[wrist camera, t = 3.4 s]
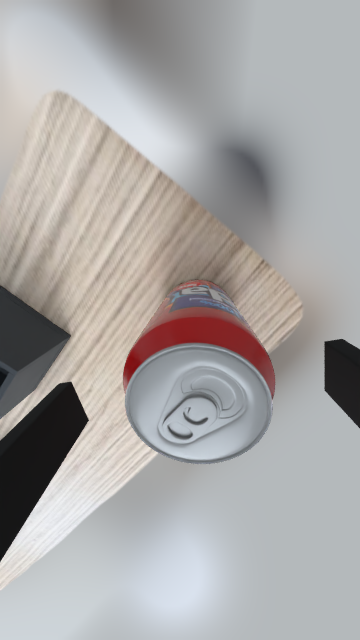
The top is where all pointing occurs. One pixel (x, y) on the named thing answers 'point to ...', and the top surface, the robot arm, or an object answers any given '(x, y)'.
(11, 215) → the top surface
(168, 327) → the soda can
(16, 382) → the open top storage bin
